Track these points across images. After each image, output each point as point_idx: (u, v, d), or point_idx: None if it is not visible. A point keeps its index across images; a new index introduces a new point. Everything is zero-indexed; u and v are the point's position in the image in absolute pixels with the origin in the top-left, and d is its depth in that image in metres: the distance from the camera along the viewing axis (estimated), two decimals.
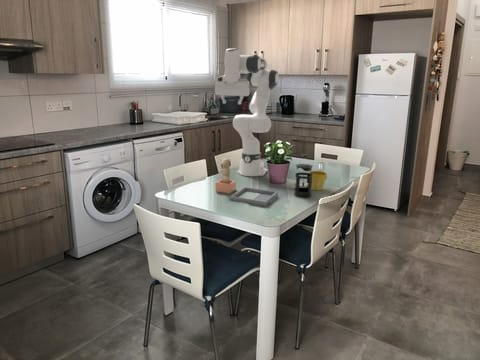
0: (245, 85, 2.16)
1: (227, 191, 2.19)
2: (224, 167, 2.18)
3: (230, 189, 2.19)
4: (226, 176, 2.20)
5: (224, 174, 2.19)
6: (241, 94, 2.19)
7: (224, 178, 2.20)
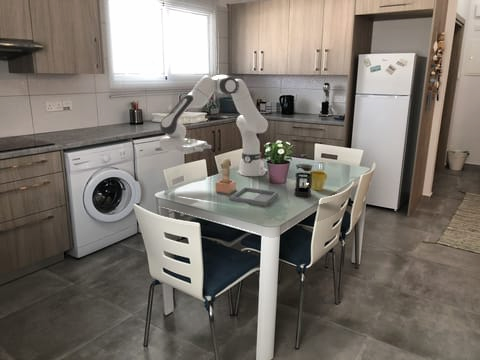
0: (182, 152, 2.19)
1: (227, 191, 2.19)
2: (224, 167, 2.18)
3: (230, 189, 2.19)
4: (226, 176, 2.20)
5: (224, 174, 2.19)
6: (192, 152, 2.19)
7: (224, 178, 2.20)
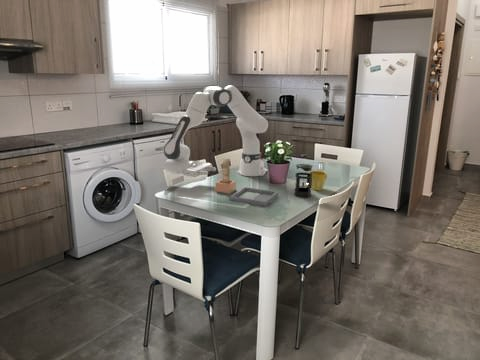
0: (187, 175, 2.21)
1: (227, 191, 2.19)
2: (224, 167, 2.18)
3: (230, 189, 2.19)
4: (226, 176, 2.20)
5: (224, 174, 2.19)
6: None
7: (224, 178, 2.20)
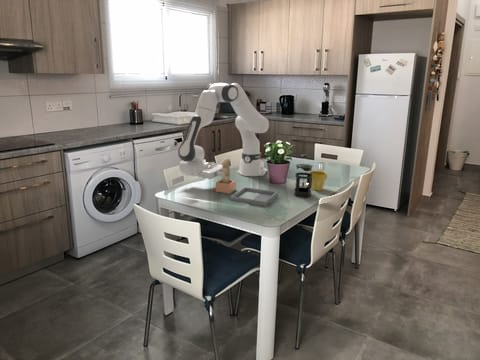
0: None
1: (227, 191, 2.19)
2: (224, 167, 2.18)
3: (230, 189, 2.19)
4: (226, 176, 2.20)
5: None
6: None
7: (224, 178, 2.20)
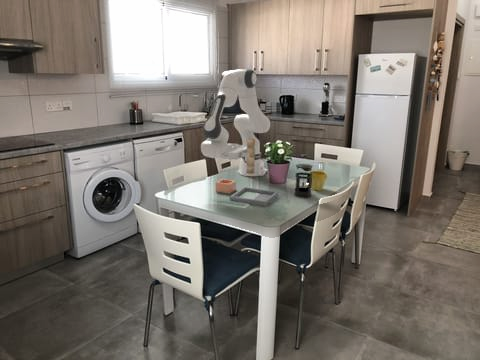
0: (227, 158, 2.04)
1: (227, 191, 2.19)
2: (249, 147, 2.05)
3: (230, 189, 2.19)
4: (251, 157, 2.06)
5: None
6: (237, 158, 2.04)
7: (249, 159, 2.07)
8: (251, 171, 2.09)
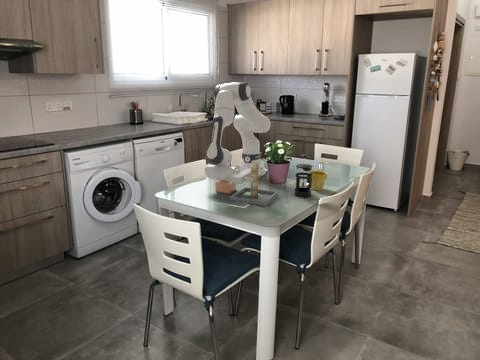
0: None
1: (227, 191, 2.19)
2: (253, 173, 2.08)
3: (230, 189, 2.19)
4: (255, 182, 2.09)
5: (253, 180, 2.09)
6: None
7: (253, 184, 2.09)
8: (255, 196, 2.11)
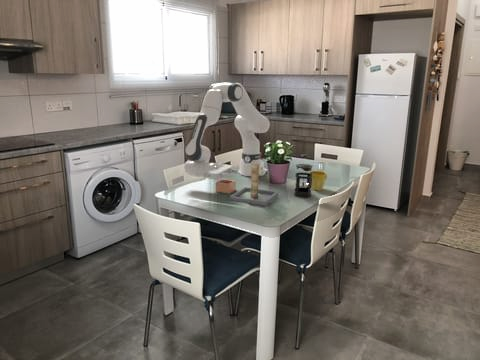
0: (209, 178, 2.11)
1: (227, 191, 2.19)
2: (253, 173, 2.08)
3: (230, 189, 2.19)
4: (255, 182, 2.09)
5: (253, 180, 2.09)
6: None
7: (253, 184, 2.09)
8: (255, 196, 2.11)
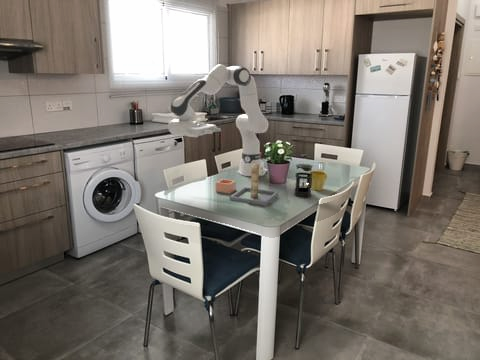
0: (191, 134, 2.14)
1: (227, 191, 2.19)
2: (253, 173, 2.07)
3: (230, 189, 2.19)
4: (256, 182, 2.09)
5: (253, 180, 2.09)
6: None
7: (253, 184, 2.09)
8: (255, 196, 2.11)
